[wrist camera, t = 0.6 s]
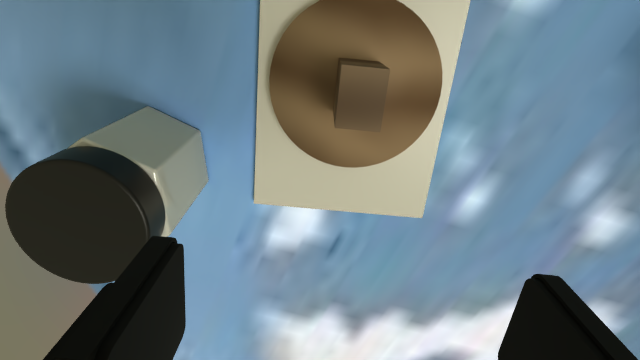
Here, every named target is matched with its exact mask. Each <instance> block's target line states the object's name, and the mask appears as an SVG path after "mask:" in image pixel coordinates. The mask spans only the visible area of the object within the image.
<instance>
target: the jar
mask: <svg viewBox="0 0 640 360" xmlns="http://www.w3.org/2000/svg"><path fill="white" fill-rule="evenodd" d="M208 180H209V179H208V173H207V167H206V161H205V156H204V150H203V144H202V138H201V132H200V131H199V130H197V129H195V128H193V127H191V126H189V125H187V124H185V123H183V122H181V121H179V120H176V119H174V118H172V117H170V116H168V115H166V114H164V113H162V112H160V111H158V110H156V109H153V108H151V107H149V106H147V107H144V108H142V109H140V110H138V111H136V112H134V113H132V114H130V115H128V116H126V117H124V118H122V119H120V120H118V121H115V122H113V123H111V124H109V125H107V126H105V127H103V128H101V129H99V130H97V131H95V132H93V133H91V134H89V135H86V136H84V137H82V138H81V139H79V140H78V141H77V142H75V143H74V144H73V145H71V146H70V147H68V148H67V149H65V150H62V151H60V152H58V153H56V154H54V155H51V156H49V157H47V158H45V159H43V160H41V161H39V162H37V163H35V164H33V165H31V166H30V167H28V168H26V169H25V170H23V171H22V172H21V173H20V174H19V175H18V176H17V177H16V178H15V180H14V181H13V182H12V184H11V186H10V188H9V190H8V193H7V198H6V205H5V208H6V218H7V222H8V225H9V228H10V231H11V233H12V235H13V237H14V238H15V240H16V242H17V243H18V244H19V246H20V247H21V248H22V250H23V251H24V252H25V253H26V254H27V255H28V256H29V257H30V258H31V259H32V260H33V261H35V262H36V263H37V264H38V265H40V266H41V267H43V268H44V269H46V270H47V271H49V272H51V273H53V274H55V275H57V276H60V277H62V278H65V279H68V280H71V281H75V282H80V283H89V284H99V283H108V282H112V281H116V280H117V279H118V277H119V276H120V275H121V274H122V272H123V271H124V270H125V269H126V267H127V266H128V265H129V264H130V263H131V261H132V260H133V259H134V258H135V256H136V255H137V254H138V253H139V251H140V250H141V249H142V248H143V246H144V245H145V244H146V243H147V242H148V240H149V239H150V238H151V237H152V236H162V237H167V236H169V235H170V234H171V233H172V231H173V230H174V229H175V227H176V226H177V224H178V223H179V222H180V220H181V219H182V217H183V216H184V215H185V213H186V212H187V210H188V209H189V208H190V206H191V205H192V203H193V202H194V201H195V199H196V198H197V196H198V195H199V194H200V192H201V191H202V189H203V188H204V187H205V185H206V184H207V182H208Z"/></svg>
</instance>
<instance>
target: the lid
mask: <svg viewBox="0 0 640 360" xmlns="http://www.w3.org/2000/svg"><path fill="white" fill-rule="evenodd" d="M441 89H442V64H441V58H440V54H439V50H438V47H437V45H436V42H435V40H434V37H433V36H432V34H431V32H430V30H429V29H428V27H427V26H426V25H425V23H424V22H423V21H422V19H421V18H420V17H419V16H418V15H417V14H416V13H415V12H414V11H412V10H411V9H410V8H408V7H407V6H406V5H404V4H403V3H401V2H399V1H397V0H319V1H318V2H316V3H314V4H313V5H311V6H309V7H308V8H307V9H305V10H304V11H303V12H302V13H300V14H299V15H298V16H297V17H296V18H295V19H294V20H293V22H292V23H291V24H290V25H289V26H288V28H287V29H286V31H285V32H284V33H283V35H282V37H281V39H280V41H279V42H278V44H277V47H276V50H275V52H274V55H273V59H272V63H271V67H270V76H269V90H270V97H271V102H272V106H273V109H274V113H275V115H276V117H277V120H278V122H279V124H280V125H281V127H282V129H283V130H284V132H285V133H286V134H287V136H288V137H289V138H290V140H291V141H292V142H293V143H294V144H295V145H296V146H297V147H298V148H300V149H301V150H302V151H304V152H305V153H306V154H308V155H310V156H311V157H313V158H315V159H317V160H319V161H322V162H324V163H327V164H331V165H334V166H340V167H351V168H357V167H367V166H371V165H376V164H379V163H382V162H385V161H387V160H389V159H391V158H393V157H395V156H397V155H399V154H400V153H402V152H403V151H405V150H406V149H407V148H408V147H410V146H411V145H412V144H413V143H414V142H415V141H416V140H417V139H418V138H419V137H420V136H421V135H422V133H423V132H424V131H425V129H426V128H427V127H428V125H429V123H430V121H431V120H432V118H433V116H434V113H435V111H436V109H437V106H438V103H439V99H440V95H441Z"/></svg>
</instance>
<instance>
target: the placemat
mask: <svg viewBox="0 0 640 360" xmlns="http://www.w3.org/2000/svg"><path fill="white" fill-rule="evenodd" d="M318 1H319V0H260V25H259V57H258V90H257V122H256V155H255V188H254V203H255V204H267V205H278V206H290V207H301V208H312V209H324V210H335V211H347V212H358V213H370V214H381V215H393V216H404V217H416V218H422V217H423V212H424V208H425V203H426V199H427V194H428V190H429V185H430V181H431V176H432V172H433V167H434V163H435V158H436V154H437V149H438V145H439V140H440V136H441V131H442V127H443V122H444V118H445V113H446V108H447V104H448V99H449V95H450V90H451V86H452V81H453V77H454V72H455V68H456V63H457V59H458V54H459V50H460V45H461V41H462V36H463V32H464V27H465V23H466V18H467V14H468V9H469V5H470V0H397V1H399V2H401V3H403V4H404V5H406V6H407V7H408V8H410V9H411V10H412V11H414V12H415V13H416V14H417V15H418V16H419V17H420V18H421V19H422V21H423V22H424V23H425V25H426V26H427V27H428V29H429V30H430V32H431V34H432V36H433V37H434V40H435V42H436V45H437V47H438V50H439V54H440V58H441V64H442V89H441V95H440V99H439V103H438V106H437V109H436V111H435V113H434V116H433V118H432V120H431V121H430V123H429V125H428V127H427V128H426V129H425V131H424V132H423V133H422V135H421V136H420V137H419V138H418V139H417V140H416V141H415V142H414V143H413V144H412V145H411V146H410V147H408V148H407V149H406V150H405V151H403V152H402V153H400V154H399V155H397V156H395V157H393V158H391V159H389V160H387V161H385V162H382V163H379V164H376V165H371V166H367V167H357V168H351V167H340V166H334V165H331V164H327V163H324V162H322V161H319V160H317V159H315V158H313V157H311V156H310V155H308V154H306V153H305V152H304V151H302V150H301V149H300V148H298V147H297V146H296V145H295V144H294V143H293V142H292V141H291V140H290V138H289V137H288V136H287V134H286V133H285V132H284V130H283V129H282V127H281V125H280V124H279V122H278V120H277V117H276V115H275V113H274V109H273V106H272V102H271V97H270V90H269V76H270V67H271V63H272V59H273V55H274V52H275V50H276V47H277V44H278V42H279V41H280V39H281V37H282V35H283V33H284V32H285V31H286V29H287V28H288V26H289V25H290V24H291V23H292V22H293V20H294V19H295V18H296V17H297V16H298V15H299V14H300V13H302V12H303V11H304V10H305V9H307V8H308V7H309V6H311V5H313V4H314V3H316V2H318Z"/></svg>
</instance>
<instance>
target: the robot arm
mask: <svg viewBox="0 0 640 360" xmlns="http://www.w3.org/2000/svg"><path fill="white" fill-rule="evenodd" d="M184 330H185V285H184V249H183V245H182V244H177V240H176V239H175V238H172V237H162V236H152V237H151V238H150V239H149V240H148V242H147V243H146V244H145V245H144V246H143V248H142V249H141V250H140V251H139V253H138V254H137V255H136V256H135V258H134V259H133V260H132V261H131V263H130V264H129V265H128V266H127V267H126V269H125V270H124V271H123V272H122V274H121V275H120V276H119V277H118V279H117V280H116V281H115V282H114V283H109V284H107V285H106V286H104V287H103V288H102V290H101V291H100V292H99V293H98V294H97V296H96V297H95V298H94V299H93V300H92V302H91V303H90V304H89V305H88V306H87V307H86V309H85V310H84V311H83V312H82V314H81V315H80V316H79V317H78V318H77V319H76V321H75V322H74V323H73V324H72V325H71V327H70V328H69V329H68V330H67V331H66V333H65V334H64V335H63V336H62V338H61V339H60V340H59V341H58V342H57V344H56V345H55V346H54V347H53V348H52V349H51V351H50V352H49V353H48V354H47V355H46V357H45V358H44V359H43V360H173V357H174V355H175V353H176V351H177V348H178V346H179V344H180V342H181V340H182V337H183V334H184ZM498 360H638V359H637V358H636V357H635V356H634V355H633V354H632V353H631V352H630V351H629V350H628V349H627V347H626V346H625V345H624V344H623V343H622V342H621V341H620V340H619V339H618V338H617V337H616V336H615V335H614V334H613V333H612V331H611V330H610V329H609V328H608V327H607V326H606V325H605V324H604V323H603V322H602V321H601V320H600V319H599V318H598V317H597V315H596V314H595V313H594V312H593V311H592V310H591V309H590V308H589V307H588V306H587V305H586V304H585V303H584V302H583V301H582V300H581V298H580V297H579V296H578V295H577V294H576V293H575V292H574V291H573V290H572V289H571V288H570V287H569V286H568V285H567V284H566V282H565V281H564V280H563V279H562V278H560V277H559V276H553V275H543V274H535V275H533V276H532V277H531V279H527V280H526V281H525V283H524V286H523V289H522V291H521V294H520V296H519V299H518V302H517V304H516V307H515V310H514V312H513V315H512V318H511V320H510V323H509V325H508V328H507V331H506V333H505V336H504V339H503V341H502V344H501V347H500V349H499V352H498Z"/></svg>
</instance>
